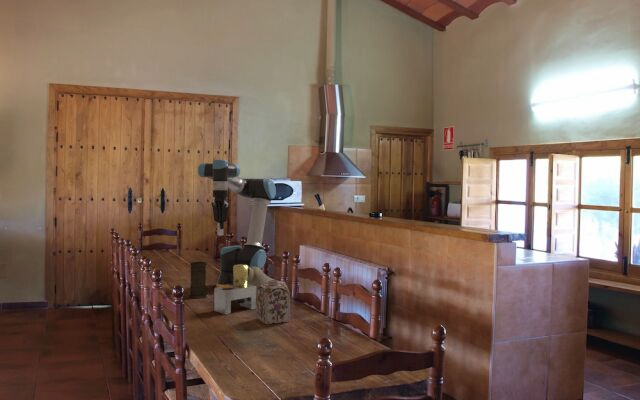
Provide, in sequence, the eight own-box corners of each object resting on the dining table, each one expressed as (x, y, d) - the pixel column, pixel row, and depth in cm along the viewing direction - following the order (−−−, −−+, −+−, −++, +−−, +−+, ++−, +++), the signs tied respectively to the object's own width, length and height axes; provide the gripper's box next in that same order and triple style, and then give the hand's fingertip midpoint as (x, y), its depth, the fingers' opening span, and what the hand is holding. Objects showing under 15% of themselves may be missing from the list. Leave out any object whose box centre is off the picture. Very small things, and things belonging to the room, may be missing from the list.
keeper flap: (228, 286, 266) (228, 284, 266) (235, 288, 262) (235, 285, 262) (215, 286, 261) (215, 283, 261) (222, 288, 257) (222, 285, 257)
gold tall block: (241, 300, 273) (242, 263, 272) (250, 302, 268) (250, 265, 267) (230, 302, 268) (230, 265, 267) (238, 304, 263) (239, 267, 262)
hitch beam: (244, 305, 276) (245, 283, 275) (256, 308, 269) (256, 285, 269) (214, 310, 263) (214, 287, 262) (225, 314, 256) (225, 290, 256)
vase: (288, 269, 304) (239, 259, 295) (302, 269, 285) (250, 258, 275) (280, 309, 300) (231, 300, 290) (294, 312, 280) (241, 302, 271)
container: (202, 298, 288) (202, 264, 287) (186, 297, 289) (186, 263, 289) (209, 295, 296) (209, 262, 296) (193, 294, 298) (194, 261, 297)
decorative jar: (265, 324, 240) (265, 283, 239) (255, 318, 250) (256, 279, 249) (290, 322, 245) (291, 281, 244) (280, 315, 255) (280, 277, 255)
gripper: (206, 189, 286) (207, 234, 287) (221, 190, 277) (221, 237, 278) (218, 188, 291) (219, 233, 293) (233, 189, 282) (233, 235, 283)
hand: (220, 235), depth 285 cm, fingers closed
